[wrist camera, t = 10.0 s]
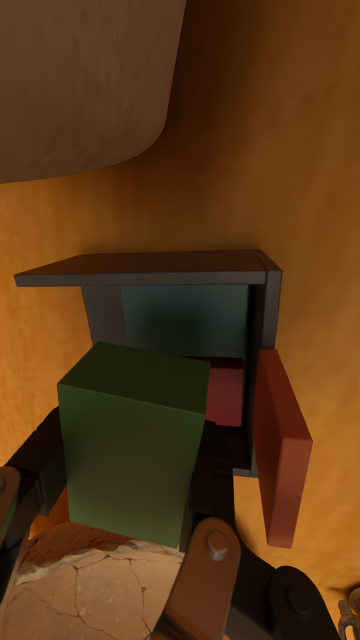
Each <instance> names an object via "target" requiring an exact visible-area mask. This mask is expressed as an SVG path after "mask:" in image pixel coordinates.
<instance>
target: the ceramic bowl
mask: <svg viewBox="0 0 360 640" xmlns="http://www.w3.org/2000/svg"><path fill="white" fill-rule="evenodd" d="M181 531H182V529H181ZM180 538H181V533H180ZM180 538H179V543H178V547H177V549H173V548H170V547H166V546H162V545H158V544H155V543H151V542H147V541H143V540H139V539H136V538H132V537H128V536H124V535H121V534H117V533H113V532H109V531H105V530H102V529H98V528H94V527H90V526H86V525H83V524H79V523H75V522H71V521H70V520H69V521H64V522H63V523H62V524H59V525H57V526H55V527H54V528H52V529H49V530H47V531H45V532H43V533H41V534H39V535H37V536H35V537H33V538H31V539H30V540H28V541H27V544H26V547H25V550H24V553H23V556H22V559H21V562H20V565H19V568H18V571H17V574H16V577H15V581H14V584H13V587H12V590H11V593H10V596H9V599H8V602H7V605H6V609H5V613H4V619H3V629H2V635H1V640H149V639H150V636H151V634H152V632H153V629H154V627H155V625H156V623H157V621H158V619H159V617H160V615H161V613H162V611H163V609H164V606H165V604H166V601H167V599H168V596H169V594H170V591H171V588H172V586H173V583H174V581H175V578H176V576H177V573H178V571H179V568H180V565H181V563H182V560H183V558H184V555H185V553H181V552H179V546H180ZM223 640H231V639H230V638H228V637H227V636H226V635H225V634H224V635H223Z"/></svg>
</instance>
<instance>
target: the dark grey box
mask: <svg viewBox="0 0 360 640" xmlns="http://www.w3.org/2000/svg"><path fill="white" fill-rule="evenodd" d="M282 272H283V271H282V269H281V268H280V267H279V266H278V265H276V264H275V263H274V262H273V261H272V260H271V259H270V258H269V257H268V256H267V255H266V254H265V253H264V252H263V251H262V250H230V251H198V252H166V253H133V254H101V255H78V256H75V257H72V258H68V259H65V260H62V261H58V262H55V263H52V264H48V265H45V266H42V267H38V268H35V269H32V270H28V271H25V272H21V273H18V274H15V275H14V278H15V282H16V285H17V287H54V286H81V289H82V294H83V299H84V304H85V309H86V313H87V318H88V323H89V328H90V333H91V338H92V342H93V346H94V345H95V344H96V343H97V342H98V341H102V342H107V343H112V344H117V345H123V346H128V339H127V332H126V325H125V318H124V311H123V305H122V298H121V291H120V286H159V285H249V297H248V315H247V333H246V351H245V358H243V363H244V386H243V404H242V422H241V427H237V426H225V425H216V435H215V436H220V437H225V438H227V440H228V442H229V444H230V446H231V449H232V458H233V464H232V465H233V475H234V476H243V477H250V476H251V477H252V478H259V486H260V493H261V501H262V508H263V516H264V523H265V530H266V538H267V543H268V545H269V546H274V547H281V548H287V549H290V548H291V547H292V542H293V537H294V532H295V527H296V522H297V517H298V512H299V508H300V503H301V498H302V493H303V488H304V483H305V478H306V473H307V469H308V464H309V459H310V454H311V449H312V444H313V440H312V438H311V435H310V433H309V430H308V428H307V425H306V423H305V420H304V417H303V415H302V412H301V410H300V407H299V405H298V402H297V400H296V397H295V395H294V392H293V390H292V387H291V384H290V382H289V379H288V377H287V374H286V372H285V369H284V367H283V364H282V362H281V359H280V357H279V354H278V351H277V350H276V349H274V348H275V339H276V329H277V320H278V310H279V301H280V291H281V282H282ZM128 347H129V346H128Z"/></svg>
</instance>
